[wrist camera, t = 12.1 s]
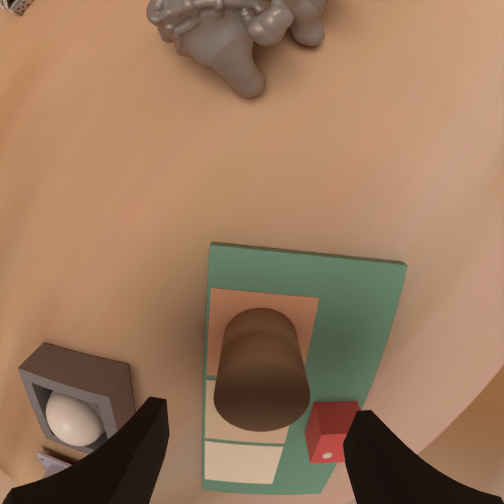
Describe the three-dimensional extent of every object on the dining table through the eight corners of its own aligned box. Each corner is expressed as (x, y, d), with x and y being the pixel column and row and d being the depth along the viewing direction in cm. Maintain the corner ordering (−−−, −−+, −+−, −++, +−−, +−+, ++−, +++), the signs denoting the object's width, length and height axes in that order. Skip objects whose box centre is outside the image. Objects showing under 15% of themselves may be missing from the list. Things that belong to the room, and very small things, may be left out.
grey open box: (139, 432, 20) (127, 465, 16) (63, 411, 20) (46, 438, 16) (128, 363, 18) (109, 397, 15) (43, 342, 18) (18, 367, 14)
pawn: (290, 371, 17) (300, 433, 12) (221, 365, 17) (212, 427, 12) (302, 311, 16) (319, 366, 11) (226, 303, 16) (215, 358, 11)
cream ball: (118, 425, 19) (99, 466, 15) (68, 410, 19) (45, 446, 14) (109, 381, 18) (83, 424, 13) (55, 366, 17) (25, 402, 13)
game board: (319, 488, 22) (325, 518, 18) (203, 484, 22) (198, 516, 18) (402, 262, 16) (434, 285, 13) (211, 242, 16) (199, 263, 12)
